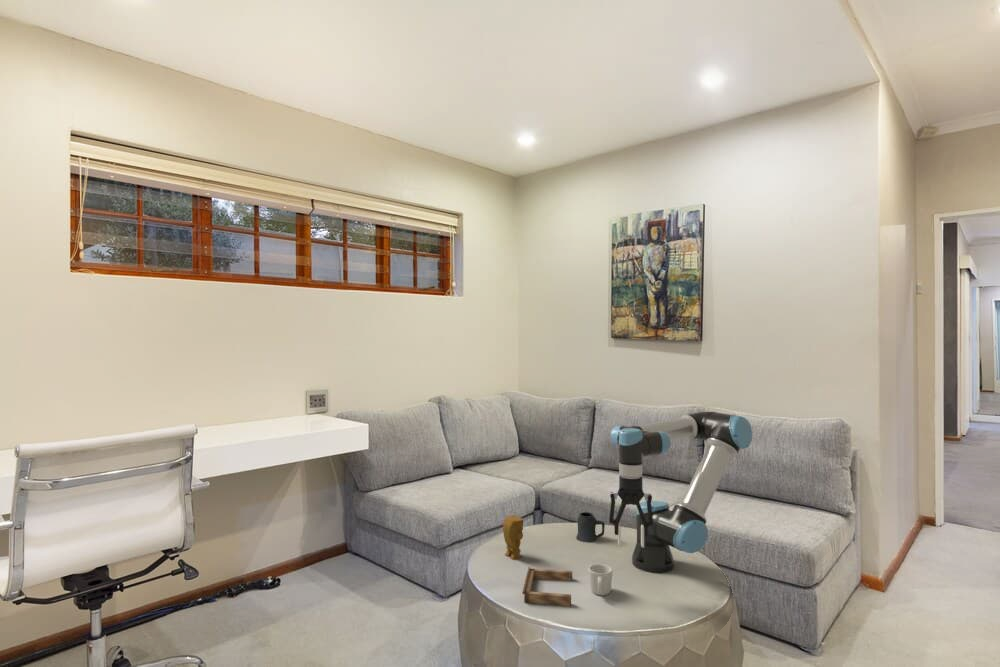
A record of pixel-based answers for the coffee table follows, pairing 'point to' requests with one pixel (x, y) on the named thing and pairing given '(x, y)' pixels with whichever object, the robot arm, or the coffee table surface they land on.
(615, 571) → the coffee table surface
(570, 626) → the coffee table surface
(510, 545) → the figurine
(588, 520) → the mug
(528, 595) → the brown wooden open frame
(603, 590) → the cup
